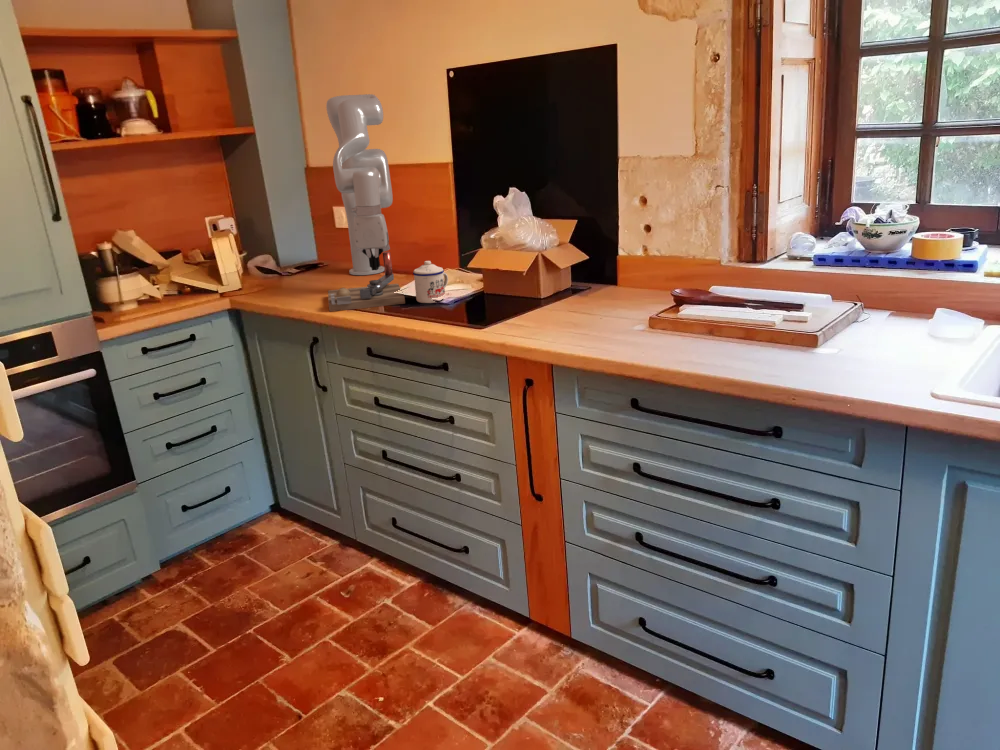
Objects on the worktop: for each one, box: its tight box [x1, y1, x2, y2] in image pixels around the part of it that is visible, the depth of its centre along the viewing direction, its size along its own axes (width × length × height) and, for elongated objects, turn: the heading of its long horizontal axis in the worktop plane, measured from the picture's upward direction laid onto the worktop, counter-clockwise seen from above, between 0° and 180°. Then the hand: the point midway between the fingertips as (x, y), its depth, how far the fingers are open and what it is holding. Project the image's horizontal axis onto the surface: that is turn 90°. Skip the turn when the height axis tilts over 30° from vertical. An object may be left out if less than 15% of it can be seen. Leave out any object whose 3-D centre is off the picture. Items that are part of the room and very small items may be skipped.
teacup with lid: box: [412, 260, 449, 304], centre depth 225 cm, size 12×9×12 cm
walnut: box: [336, 287, 350, 297], centre depth 221 cm, size 4×4×4 cm
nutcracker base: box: [327, 279, 406, 312], centre depth 229 cm, size 21×22×6 cm
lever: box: [360, 251, 395, 299], centre depth 230 cm, size 23×5×10 cm, turn 171°
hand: (375, 269), depth 240 cm, fingers closed
